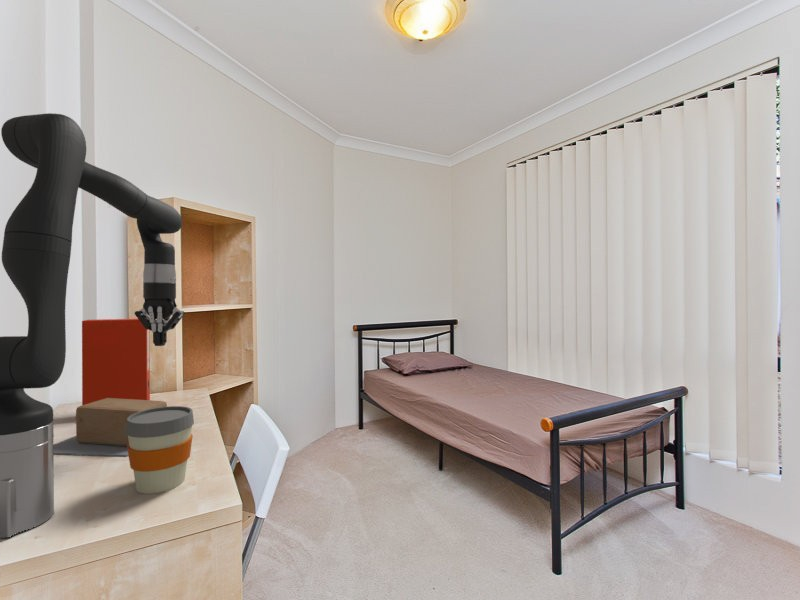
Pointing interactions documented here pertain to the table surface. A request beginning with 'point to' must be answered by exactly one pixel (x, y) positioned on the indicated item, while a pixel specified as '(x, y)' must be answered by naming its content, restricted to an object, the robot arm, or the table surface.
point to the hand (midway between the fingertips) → (159, 345)
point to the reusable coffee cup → (159, 447)
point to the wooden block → (109, 419)
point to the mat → (88, 448)
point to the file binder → (115, 360)
